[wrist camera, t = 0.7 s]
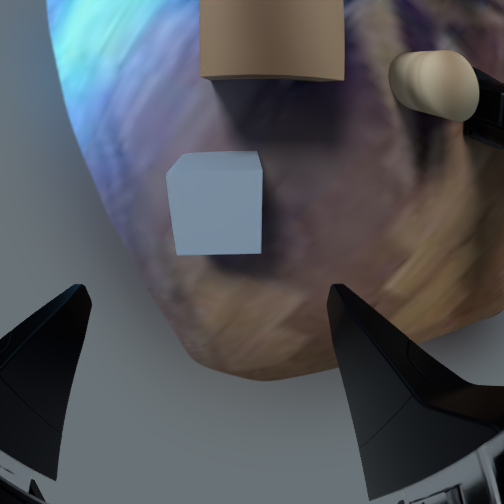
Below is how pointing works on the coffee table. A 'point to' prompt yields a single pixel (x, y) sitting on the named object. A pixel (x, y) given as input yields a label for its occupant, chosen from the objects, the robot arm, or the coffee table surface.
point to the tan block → (272, 40)
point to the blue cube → (216, 203)
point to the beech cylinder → (435, 83)
